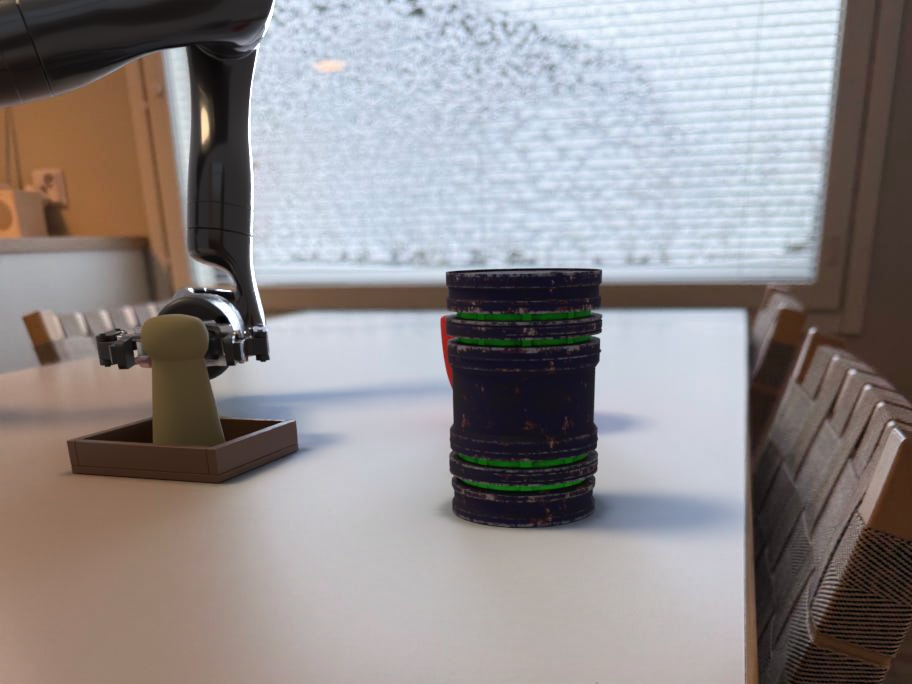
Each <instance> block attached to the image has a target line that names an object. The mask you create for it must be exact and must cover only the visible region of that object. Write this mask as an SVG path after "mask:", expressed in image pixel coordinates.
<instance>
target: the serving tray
mask: <svg viewBox="0 0 912 684" xmlns="http://www.w3.org/2000/svg"><path fill="white" fill-rule="evenodd" d="M219 419H220V423H221V427H222V431H223V434H224V438H225V442H224V443H221V444H219V445H216V446H213V447H207V446H190V445H172V444H154V443H153V416H150V417H147V418H143V419H140V420H136V421H133V422H129V423H125V424H122V425H117V426H114V427H111V428H107V429H103V430H100V431H96V432H93V433H89V434H85V435H81V436H78V437H73V438H70V439H67V440H66V446H67V451H68V455H69V457H68V458H69V463H70V467H71V472H72V474H81V475H83V474H84V475H98V476H112V477H125V478H141V479H142V478H143V479H156V480H167V481H168V480H169V481H184V482H199V483H210V484H211V483H213V484H221V483H223V482H225V481H228V480H230V479H233V478H234V477H238V476H239V475H242V474H244V473H246V472H249V471H252V470H254V469H256V468H259V467H260V466H264V465H266V464H268V463H271V462H273V461H275V460H278V459H280V458H283V457H285V456H287V455H290V454H293V453H295V452H297V451H299V449H300V448H299V447H300V446H299V439H298V428H297V427H298V426H297V420H295V419H283V418H282V419H278V418H258V417H237V416H236V417H235V416H234V417H233V416H219Z"/></svg>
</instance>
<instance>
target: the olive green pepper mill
mask: <svg viewBox="0 0 912 684" xmlns="http://www.w3.org/2000/svg"><path fill="white" fill-rule="evenodd" d="M141 341H142V345H143V348H144V350H145V352H146V353H147V355H148V356H149V357H150V358H151V359H152V368H151V398H152V399H151V404H152V407H151V409H152V411H151V412H152V414H151V415H152V417H153V443H154V444H172V445H190V446H207V447H213V446H216V445H219V444H221V443H224V442H225V438H224V434H223V431H222V427H221V423H220V419H219V417H220V415H219V411H218V407H217V403H216V399H215V396H214V390H213V387H212V384H211V380H210V379H209V375H208V371H207V367H206V363H205V359H204V356H205V354H206V352H207V350H208V345H209V336H208V331H207V328H206V326H205V324H204V323H203V322H202V320H201V319H199V318H197V317H193V316H189V315H183V314H168V315H160V316H158V315H156V316H153V317H150V318H148V319H147V320H145V321H144V322H143V324H142V329H141Z"/></svg>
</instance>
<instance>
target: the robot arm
mask: <svg viewBox="0 0 912 684" xmlns="http://www.w3.org/2000/svg"><path fill="white" fill-rule="evenodd" d="M274 6H275V0H0V109H4V108H11V107H17V106H22V105H26V104H30V103H35V102H39V101H43V100H47V99H51V98H54V97H59V96H62V95H65V94H69V93H71V92H75V91H76V90H79V89H82V88H83V87H86V86H88V85H90V84H93V83H95V82H96V81H98V80H100V79H102V78H105V77H106V76H108V75H110V74H112V73H115V71H118V70H119V69H121V68H123V67H125V66H126V65H128V64H131V63H132V62H135V61H136V60H139V59H141V58H145V57H146V56H150V55H152V54H156V53H160V52H165V51H169V50H174V49H181V48H185V51H186V57H187V67H188V75H189V76H188V77H189V88H190V134H189V135H190V136H189V137H190V138H189V150H188V151H189V154H188V167H187V185H186V186H187V188H186V189H187V191H186V250H187V254H188V255H189V257H190V258H191V259H192V260H193V261H195V262H197V263H200V264H202V265H205V266H208V267H211V268H214V269H218V270H220V271H222V272H224V273H226V274H227V275H228V276H230V278H231V279H232V282H233V285H234V290H230V289H220V288H211V287H207V288H206V287H201V286H182V287H180V288H178V289H177V290H176V291H175V292H174V293H173V296H172V298H171V301H170V302H169V303H167V304H166V305H165V306H163V307H162V308H161V310H160V311H159V312H158V314H157V316H160V315H168V314H183V315H189V316H193V317H197V318H199V319H201V320H202V322H203V323H204V324H205V326H206V328H207V331H208V336H209V345H208V350H207V352H206V354H205V356H204V359H205V363H206V367H207V371H208V375H209V379H210V381H211V380H214V379H216V378H218V377H220V376H221V375H223V374H224V373H225V372H226V371H227V370H228V369H229V368H230V367H237V365H238V364H241V365H242V364H243V365H244V364H245V363H248V362H249V361H250V360H249V358H251V357H255V361H257V362H259V363H266V362H267V361H271V351H270V342H269V329H268V325H267V319H266V314H265V309H264V307H263V303H262V299H261V295H260V291H259V286H258V282H257V277H256V270H255V261H254V219H255V218H254V215H255V214H254V213H255V212H254V211H255V190H254V189H255V188H254V187H255V185H254V183H255V182H254V169H253V166H254V165H253V155H252V141H251V101H252V100H251V99H252V98H251V97H252V87H253V80H254V75H255V69H256V63H257V58H258V53H259V48H260V44H261V42H262V40H263V39H264V38H265V35H266V32H267V30H268V28H269V25H270V22H271V19H272V16H273V12H274ZM142 326H143V325H142ZM142 326H141V325H140V326H136V327H135V328H134V330H133V333H128V331H127V330H125V329H121V328H118V327H117V328H114V329H112V330H108V331H106V332H103V333H102V332H101V333H100V332H99V334H96V335H95V336H94V337H95V341H96V342H95V343H96V348H97V349H96V350H97V355H98V359H99V360H98V361H99V366H103V367H104V368H111V367H112V366H115V365H117V367H118V370H120V371H122V370H130V369H131V368H133V367H134V366H137V365H138V366H139V367H141V368H143V369H152V359H151V358H150V357H149V356H148V355H147V353H146V352H145V350H144V348H143V345H142V341H141V329H142ZM135 351H137V355H136V356H135Z"/></svg>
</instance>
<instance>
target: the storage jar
mask: <svg viewBox="0 0 912 684" xmlns="http://www.w3.org/2000/svg"><path fill="white" fill-rule="evenodd" d="M602 283H603V269H601V268H587V267H524V268H523V267H521V268H518V267H517V268H484V269H483V268H482V269H460V270H450V271H449V270H448V271H445V286H446V287H447V288H448V296H447V297H446V299H445V300H446V311H448V312H454V313H451V314H452V315H451V314H447V315H448V316H446V317H445V320H446V335H448V336H452V337H456V338H452V339H449V340H448V341H447V343H448V350H447V352H446V353H447V354H448V364H449V365H450V366H451V368H452V385H453V390H452V419H453V421H452V422H453V423H452V425H450V427H449V448H450V449H451V451H450V452H449V455H448V457H449V461H448V462H449V463H448V464H449V472H450V474H451V475H452V477H451V487H452V488H453V497H452V500H451V505H452V506H451V507H452V512H453V513H454V514H455V515H456V516H457V517H459V518H461V519H463V520H466V521H469V522H472V523H476V524H482V525H488V526H495V527H505V528H538V527H550V526H557V525H564V524H569V523H574V522H577V521H579V520H583V519H585V518H586V517H589V516H591V515H592V514H593V513H594V512H595V509H596V508H595V507H596V499H595V496H594V488H595V487H596V476H595V475H596V473H597V472H598V468H599V466H598V465H599V453H598V451H597V450H596V449H597V448H598V441H599V437H598V434H599V433H598V432H599V431H598V430H599V428H598V426H597V425H596V423H595V401H596V400H595V398H596V397H595V395H596V367H597V366H598V365H599V363H600V361H601V353H602V351H603V350H602V349H601V338H600V337H598V335H600V334H602V333H603V328H602V327H603V319H602V318H603V313H599V312H595V310H599V309H600V310H601V308H602V294H600V285H601V284H602ZM596 335H597V336H596Z"/></svg>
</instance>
